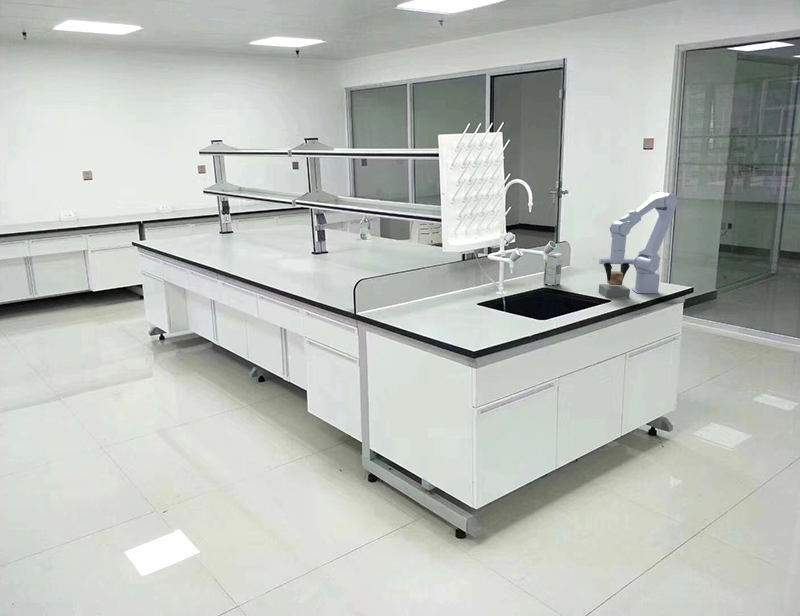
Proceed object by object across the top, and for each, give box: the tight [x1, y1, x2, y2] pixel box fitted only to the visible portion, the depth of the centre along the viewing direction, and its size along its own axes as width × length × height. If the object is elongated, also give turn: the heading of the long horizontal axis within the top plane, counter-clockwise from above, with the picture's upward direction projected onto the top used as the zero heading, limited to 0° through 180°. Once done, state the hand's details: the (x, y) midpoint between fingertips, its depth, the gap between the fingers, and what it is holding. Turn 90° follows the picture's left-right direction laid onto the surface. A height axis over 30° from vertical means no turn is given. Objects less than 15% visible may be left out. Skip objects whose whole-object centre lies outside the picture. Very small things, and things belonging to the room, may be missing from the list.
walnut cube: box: [606, 270, 624, 285], centre depth 278 cm, size 5×5×5 cm
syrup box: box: [543, 252, 563, 286], centre depth 297 cm, size 6×6×14 cm
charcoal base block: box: [598, 283, 631, 299], centre depth 279 cm, size 10×10×4 cm
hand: (615, 280), depth 278 cm, fingers closed on walnut cube, 5 cm apart
